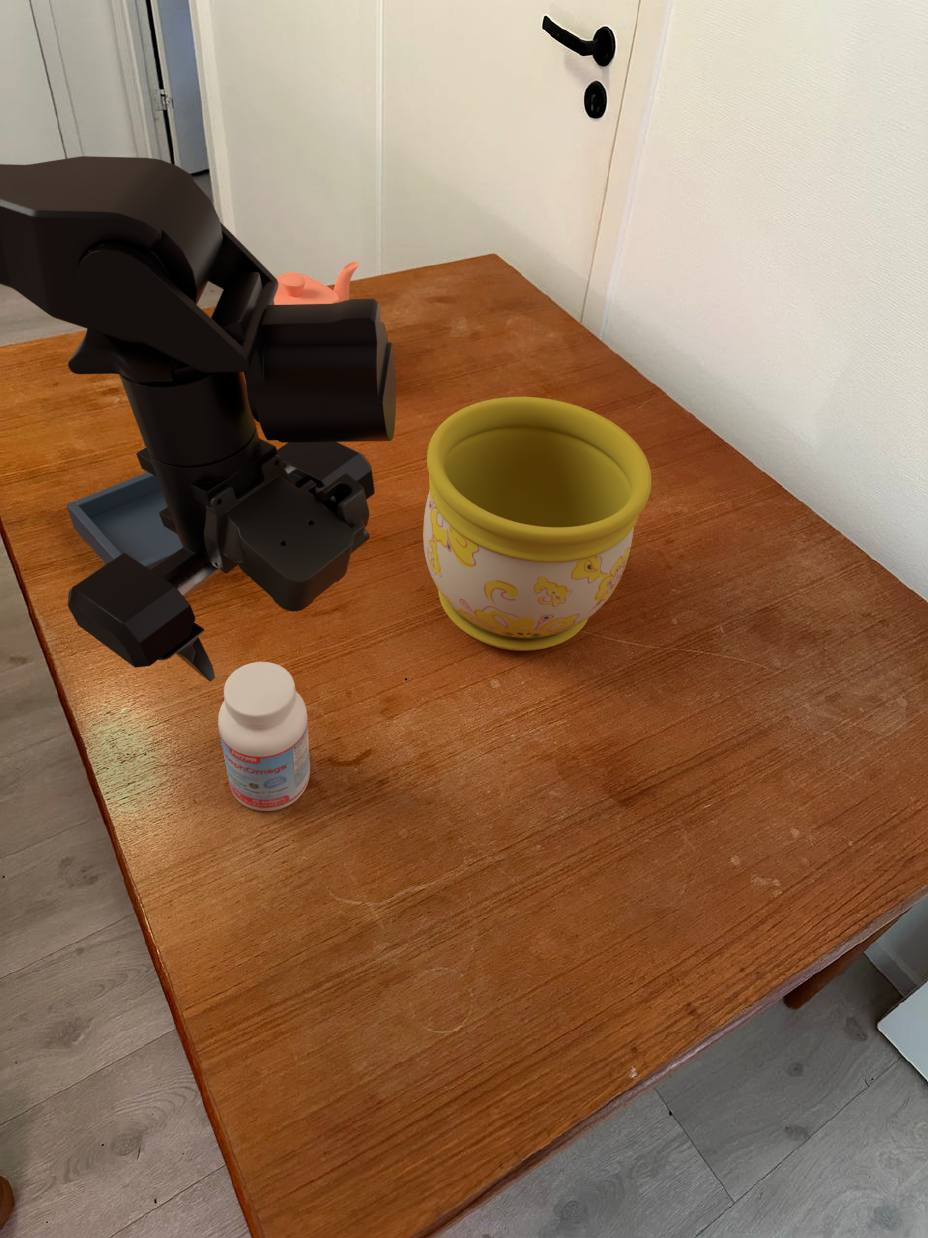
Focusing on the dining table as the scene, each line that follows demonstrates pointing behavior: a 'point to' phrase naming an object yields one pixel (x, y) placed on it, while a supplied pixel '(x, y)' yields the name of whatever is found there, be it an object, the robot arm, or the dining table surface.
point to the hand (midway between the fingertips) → (262, 633)
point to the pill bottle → (264, 737)
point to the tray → (126, 521)
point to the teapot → (312, 288)
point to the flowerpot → (530, 517)
